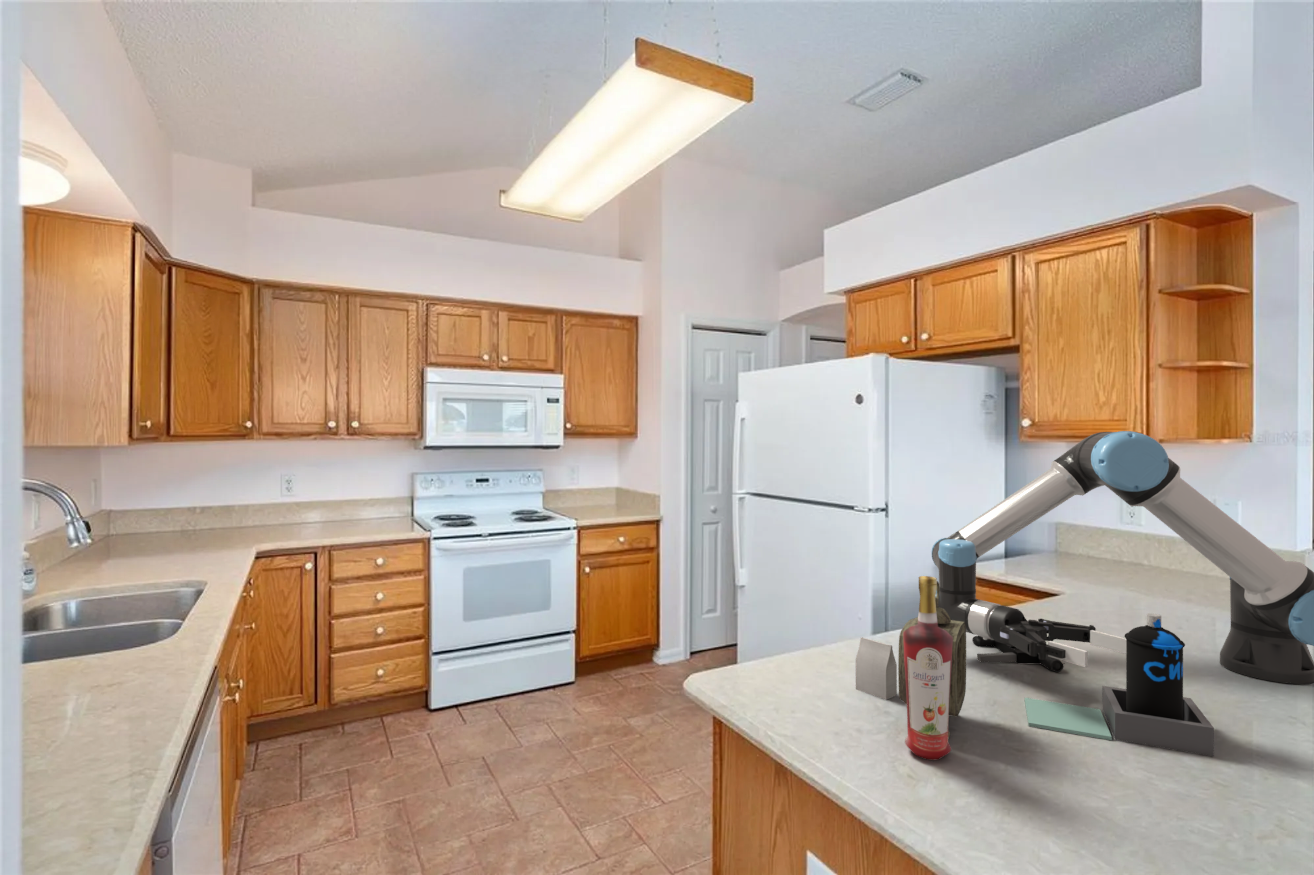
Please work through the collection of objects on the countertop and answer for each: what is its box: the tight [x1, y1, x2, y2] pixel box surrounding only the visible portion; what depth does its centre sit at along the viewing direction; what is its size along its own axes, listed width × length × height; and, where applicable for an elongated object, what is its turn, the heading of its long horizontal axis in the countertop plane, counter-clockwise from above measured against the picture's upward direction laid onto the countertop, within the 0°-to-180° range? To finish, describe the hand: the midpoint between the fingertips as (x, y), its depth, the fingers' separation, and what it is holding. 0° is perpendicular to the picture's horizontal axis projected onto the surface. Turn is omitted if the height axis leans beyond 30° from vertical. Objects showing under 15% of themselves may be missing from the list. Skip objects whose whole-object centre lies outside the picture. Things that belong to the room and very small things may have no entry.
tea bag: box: [855, 637, 898, 701], centre depth 129 cm, size 4×7×10 cm, turn 38°
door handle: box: [972, 635, 1066, 673], centre depth 149 cm, size 3×20×16 cm
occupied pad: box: [1024, 697, 1113, 741], centre depth 116 cm, size 12×12×1 cm
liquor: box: [903, 575, 953, 761], centre depth 104 cm, size 7×7×28 cm
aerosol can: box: [1124, 612, 1186, 721], centre depth 111 cm, size 8×8×20 cm
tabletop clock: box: [897, 580, 967, 739], centre depth 115 cm, size 14×9×25 cm, turn 148°
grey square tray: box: [1101, 685, 1215, 758], centre depth 111 cm, size 13×13×4 cm
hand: (1108, 652), depth 117 cm, fingers open, 13 cm apart
